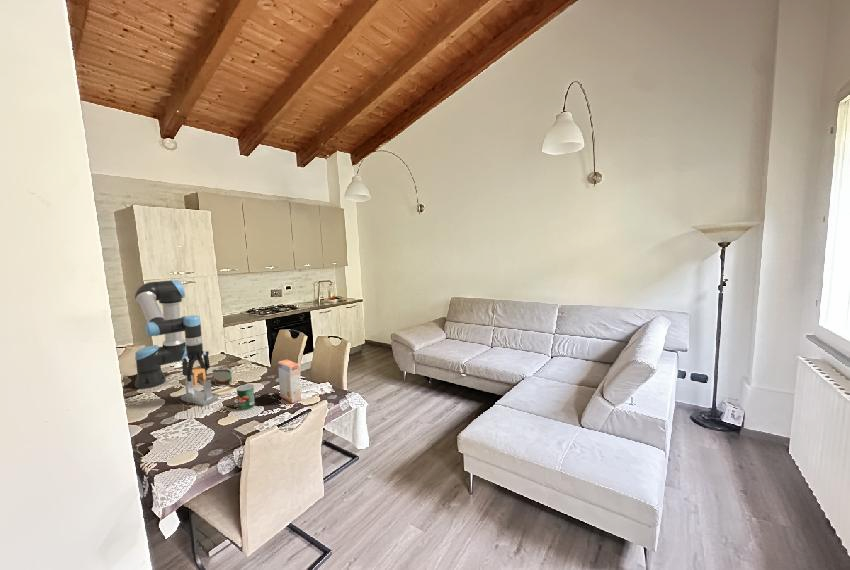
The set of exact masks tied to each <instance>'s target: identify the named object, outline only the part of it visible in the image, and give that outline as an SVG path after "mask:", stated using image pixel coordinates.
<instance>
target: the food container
mask: <svg viewBox="0 0 850 570" xmlns="http://www.w3.org/2000/svg"><path fill="white" fill-rule="evenodd" d="M211 371H212V372H211V373H213V378H214V379H213V380H214V384H215V385H217V386H231V385H232V377H233V376H232V375H233V374H232V373H233V371H234V370H233V368H232V366H229V365H225V366H218V367H214V368H213V369H212V370H211Z"/></svg>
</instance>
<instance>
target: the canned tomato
mask: <svg viewBox="0 0 850 570" xmlns="http://www.w3.org/2000/svg"><path fill="white" fill-rule="evenodd" d="M236 389H237V390H236V392H237V395H236V396H237V407H238V410H239V411H242V412H243V411H248V410H251V409H253V408H254V407H255V406H256V404H255V389H254V385H253V384H243V385H240V386H238V387H237V388H236Z"/></svg>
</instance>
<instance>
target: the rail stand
mask: <svg viewBox="0 0 850 570" xmlns="http://www.w3.org/2000/svg"><path fill="white" fill-rule="evenodd" d="M184 383H185V391H186V393H184V394H182V395H180V400H181V401H184V402H188V403H191V404H195V405H197V406H201V407H205V406H208V405H210V404H213V403H216V402H217V401H219V396H218V395H214V394H212V391H213V390H212V381H211V379H206V380H205V379H201V378H198V377H197V384H200V385H202V388H203V391H200V390H198V389H197V390H196V389H195V388H194V387H195V386H194V387H191V386H189V381H187V376H185V377H184Z"/></svg>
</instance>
